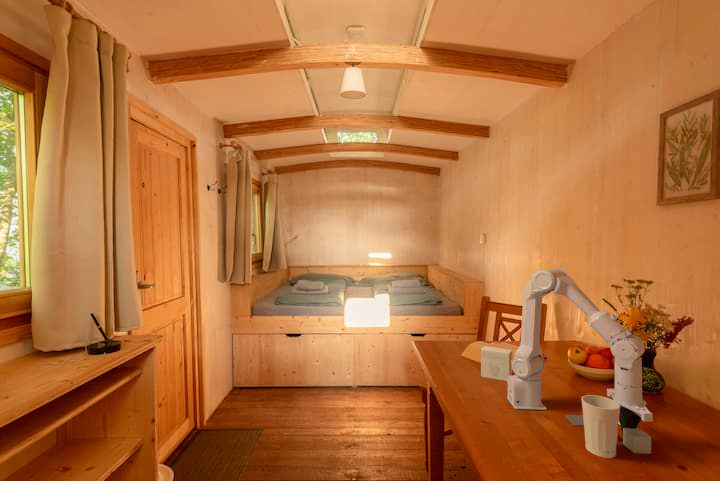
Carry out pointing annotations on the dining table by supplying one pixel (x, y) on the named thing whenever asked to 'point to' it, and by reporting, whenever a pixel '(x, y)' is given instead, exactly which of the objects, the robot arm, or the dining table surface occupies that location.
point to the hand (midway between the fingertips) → (628, 435)
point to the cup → (600, 425)
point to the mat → (576, 419)
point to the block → (637, 440)
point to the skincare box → (496, 363)
